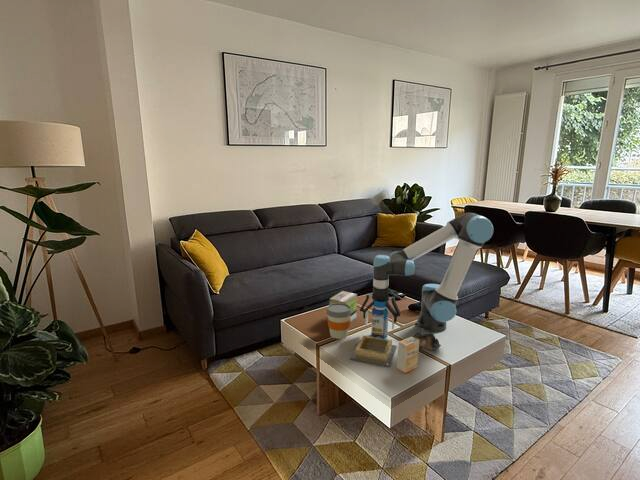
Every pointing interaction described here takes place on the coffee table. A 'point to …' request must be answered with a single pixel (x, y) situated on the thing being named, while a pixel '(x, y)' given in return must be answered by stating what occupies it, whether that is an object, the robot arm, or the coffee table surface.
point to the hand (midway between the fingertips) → (379, 326)
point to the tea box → (346, 301)
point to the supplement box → (408, 354)
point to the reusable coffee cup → (339, 320)
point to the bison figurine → (427, 340)
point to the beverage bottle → (379, 320)
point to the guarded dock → (374, 351)
